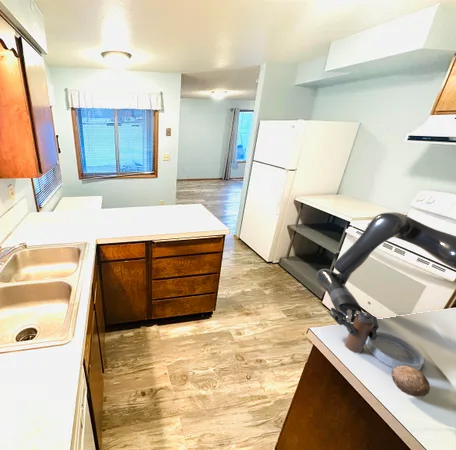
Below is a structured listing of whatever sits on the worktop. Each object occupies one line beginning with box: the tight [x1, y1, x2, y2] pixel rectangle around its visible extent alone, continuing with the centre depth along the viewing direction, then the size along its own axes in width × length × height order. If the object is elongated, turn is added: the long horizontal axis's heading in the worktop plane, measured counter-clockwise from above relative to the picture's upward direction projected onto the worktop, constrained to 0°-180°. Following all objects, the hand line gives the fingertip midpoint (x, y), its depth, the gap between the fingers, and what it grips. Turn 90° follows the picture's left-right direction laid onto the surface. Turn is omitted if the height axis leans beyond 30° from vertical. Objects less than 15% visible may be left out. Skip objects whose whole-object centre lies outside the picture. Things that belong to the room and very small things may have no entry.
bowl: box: [365, 331, 425, 371], centre depth 79 cm, size 13×13×4 cm
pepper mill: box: [344, 311, 374, 354], centre depth 79 cm, size 5×5×15 cm
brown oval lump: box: [391, 365, 431, 398], centre depth 68 cm, size 8×8×6 cm
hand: (364, 335), depth 76 cm, fingers closed on pepper mill, 4 cm apart
